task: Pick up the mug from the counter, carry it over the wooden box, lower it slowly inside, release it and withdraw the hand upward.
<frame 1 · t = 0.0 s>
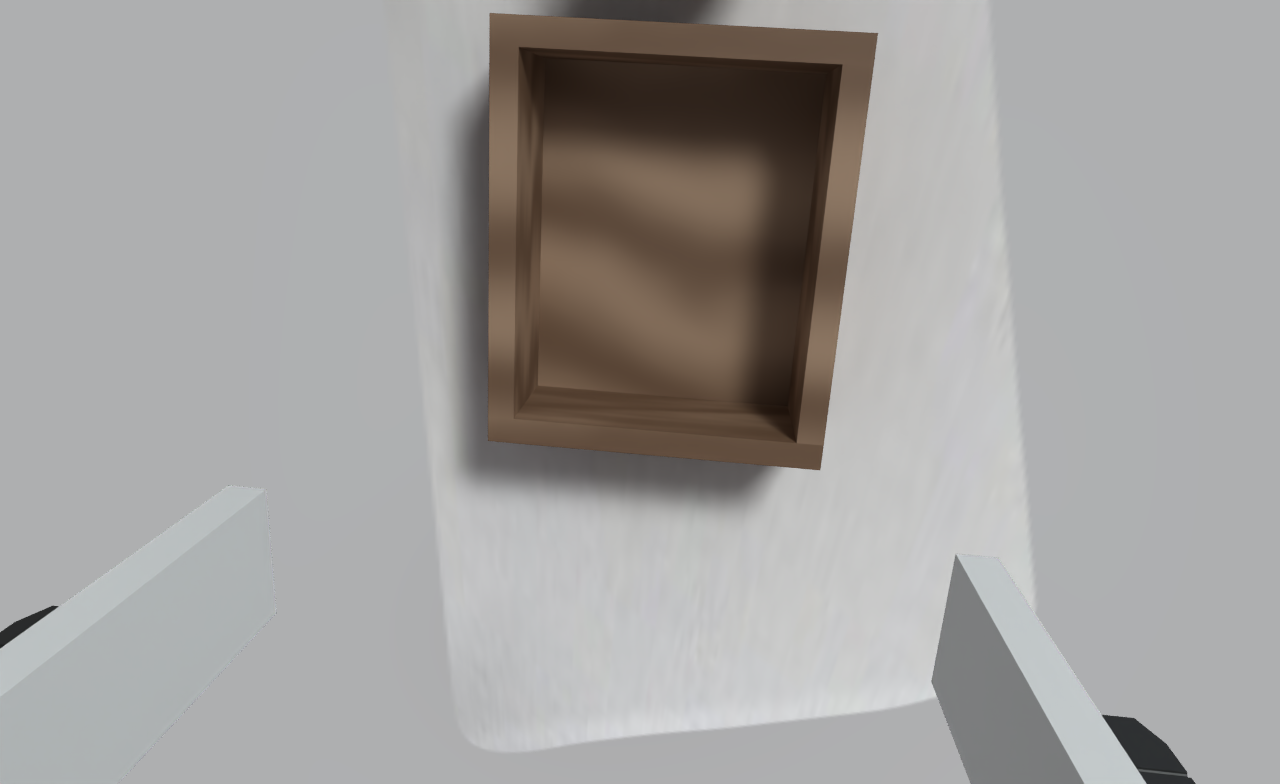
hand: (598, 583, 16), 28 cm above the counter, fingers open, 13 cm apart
wooden box: (672, 238, 42), on the counter
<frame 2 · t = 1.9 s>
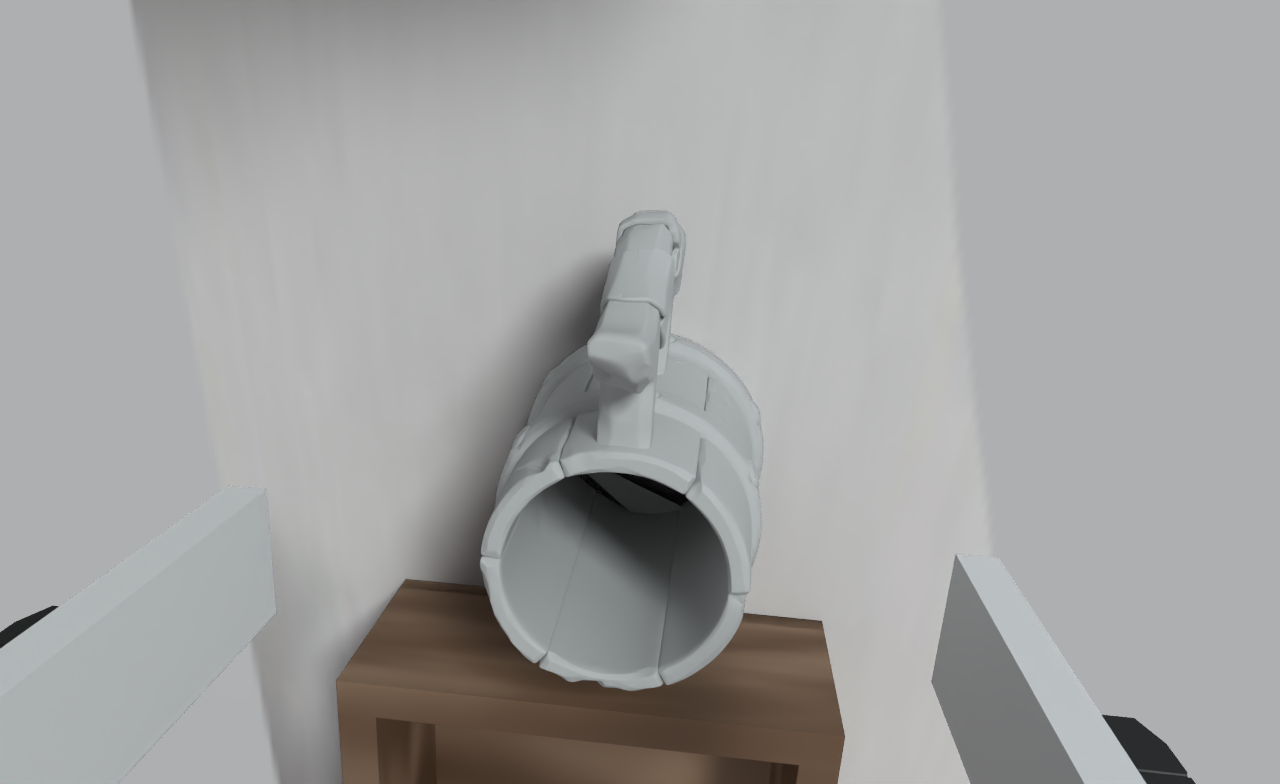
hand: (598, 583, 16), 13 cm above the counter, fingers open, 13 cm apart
mug: (652, 371, 28), on the counter
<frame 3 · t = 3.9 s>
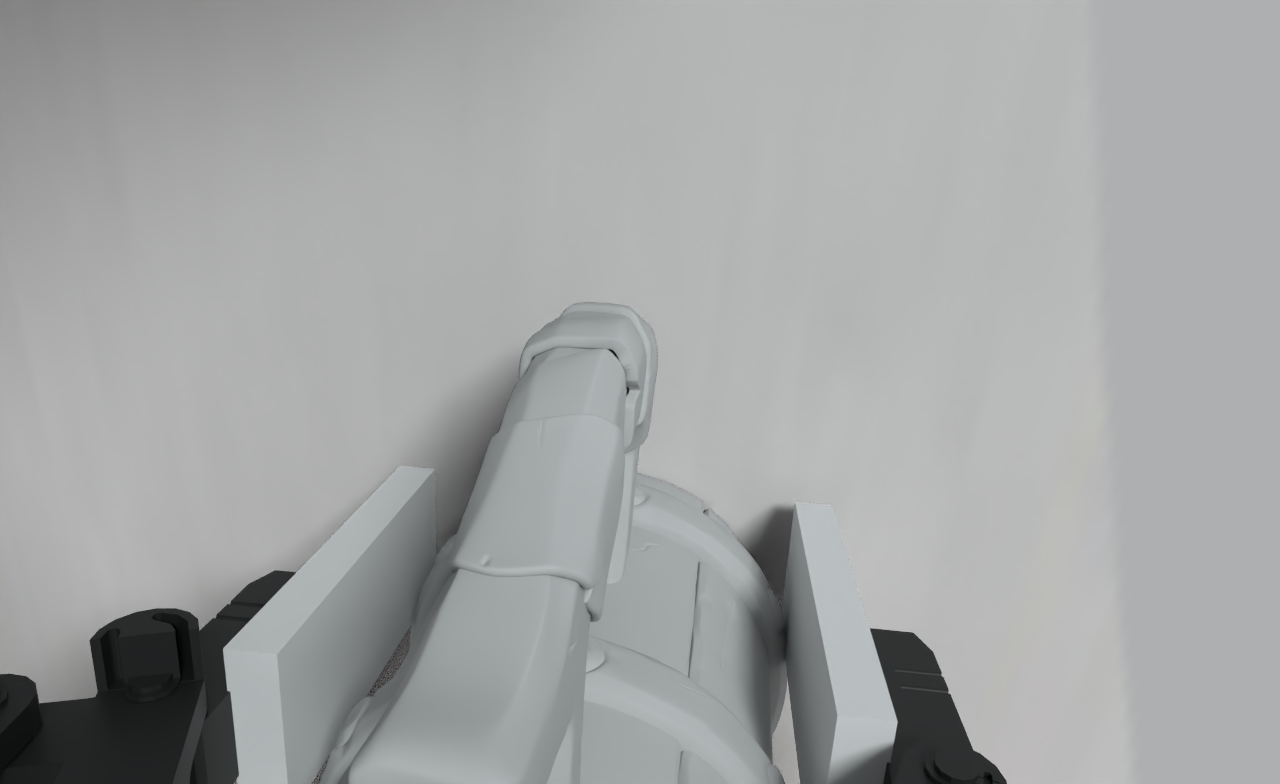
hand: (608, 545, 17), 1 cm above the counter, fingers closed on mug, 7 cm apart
mug: (614, 526, 18), on the counter, touching gripper
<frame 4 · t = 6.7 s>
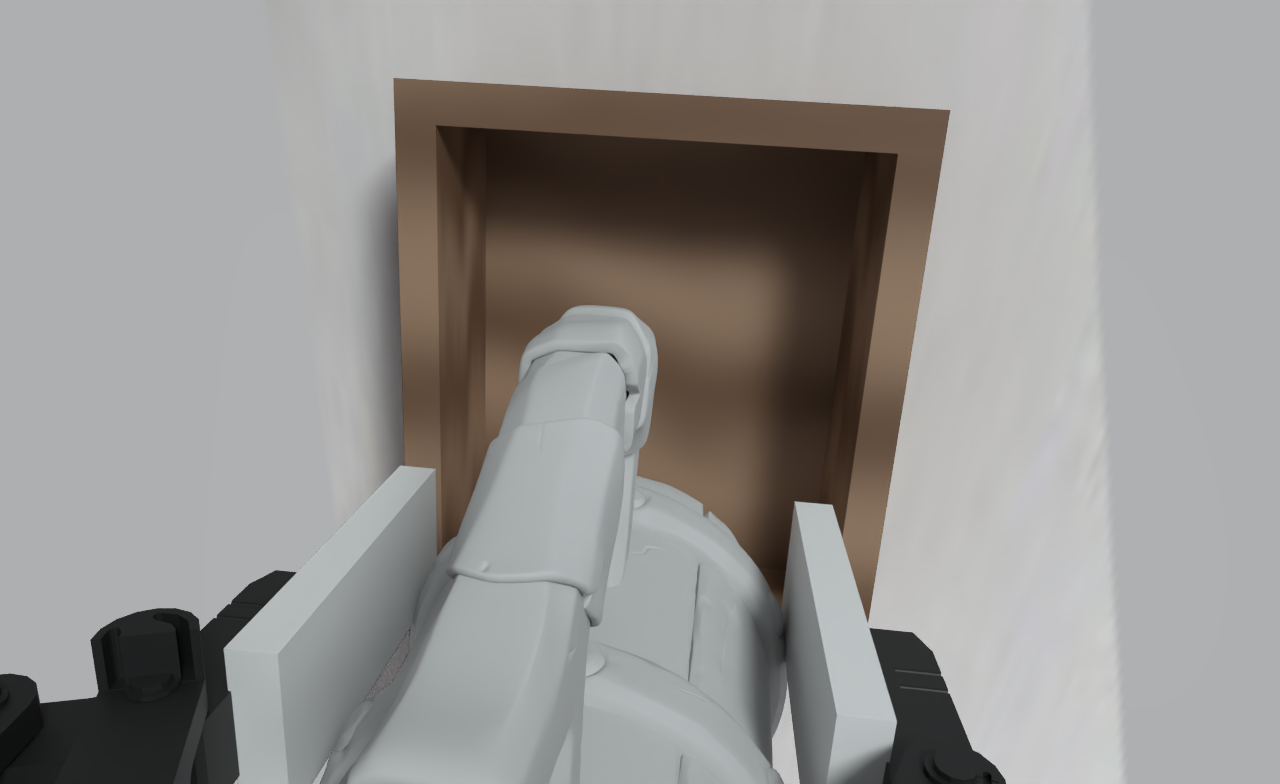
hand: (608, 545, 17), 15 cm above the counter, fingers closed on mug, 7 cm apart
mug: (614, 528, 18), point 14 cm above the counter, touching gripper
wooden box: (659, 359, 32), on the counter
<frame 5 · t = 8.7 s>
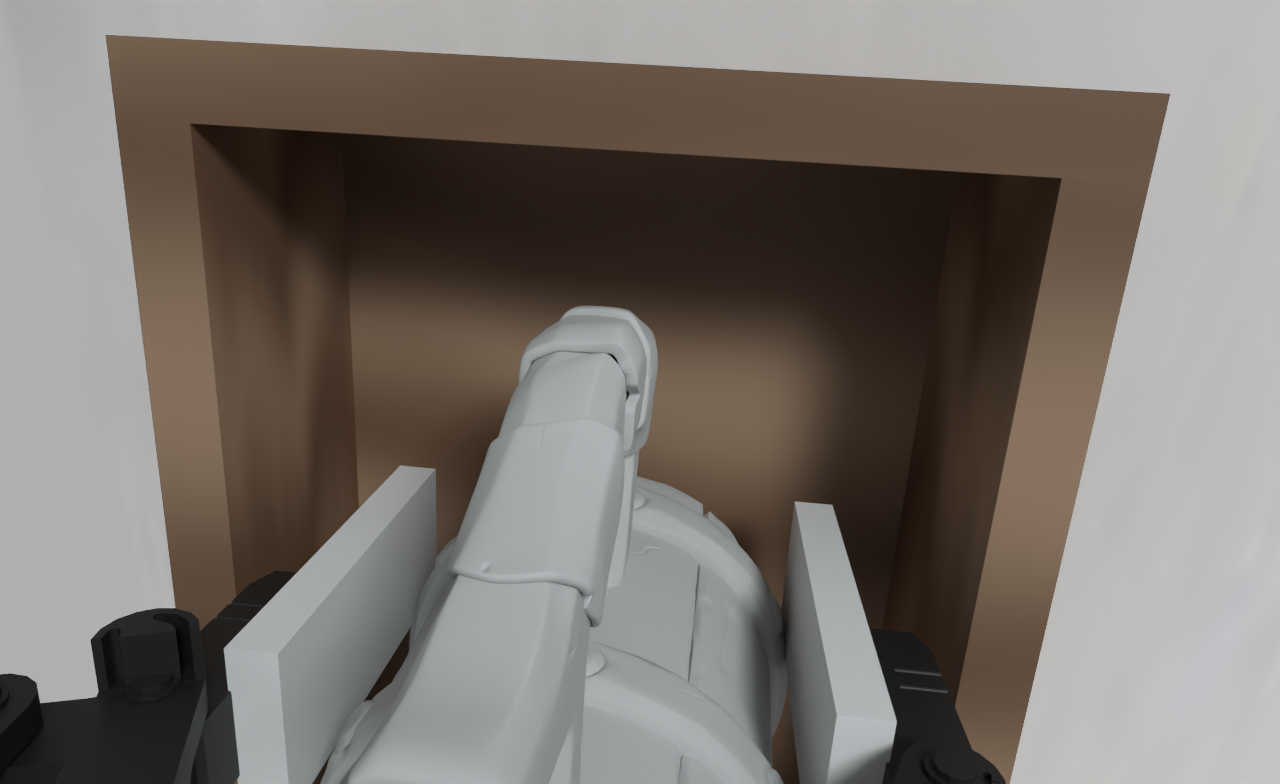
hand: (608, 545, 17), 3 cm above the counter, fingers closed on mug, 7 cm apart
mug: (614, 528, 18), point 2 cm above the counter, touching gripper
wooden box: (625, 485, 21), on the counter
when the fingers open (4 cm above the counter, at t = 10.4 s): mug stays where it is, resting on wooden box.
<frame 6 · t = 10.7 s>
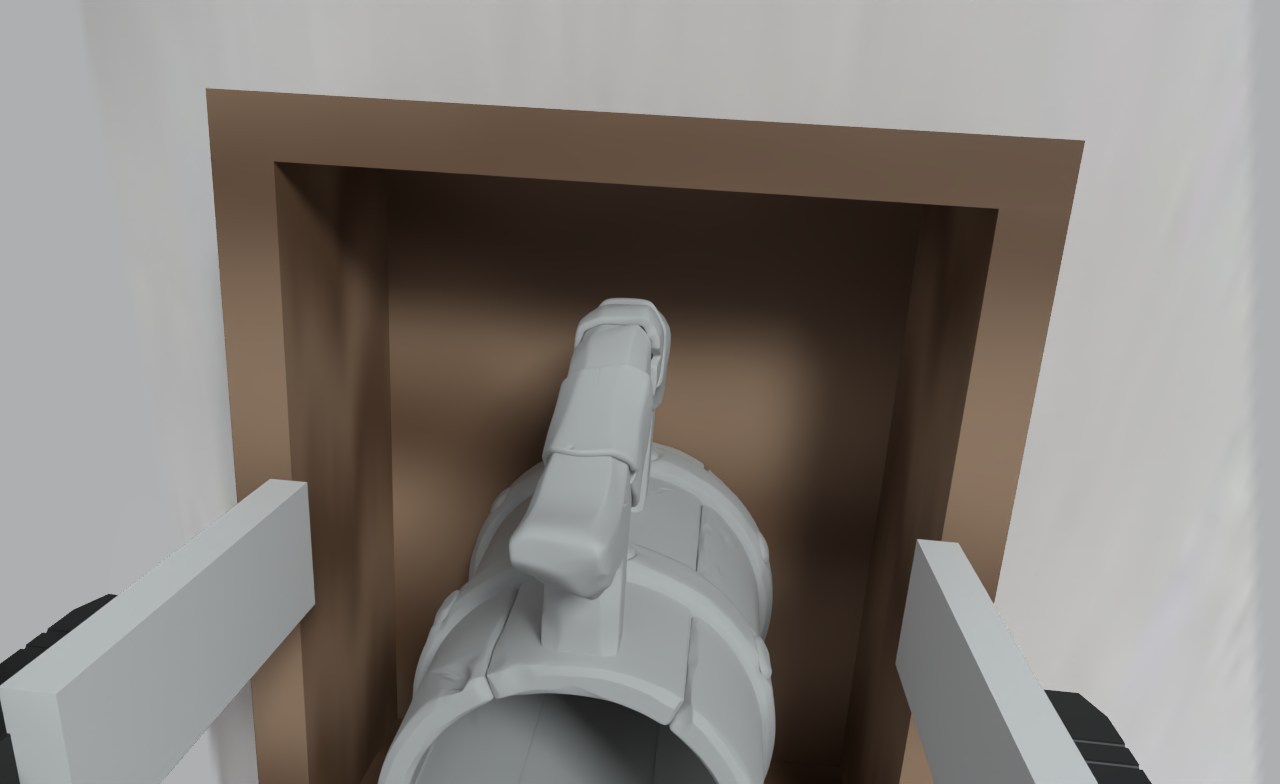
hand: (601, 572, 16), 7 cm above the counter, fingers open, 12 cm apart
mug: (631, 486, 22), resting on wooden box
wooden box: (632, 479, 23), on the counter
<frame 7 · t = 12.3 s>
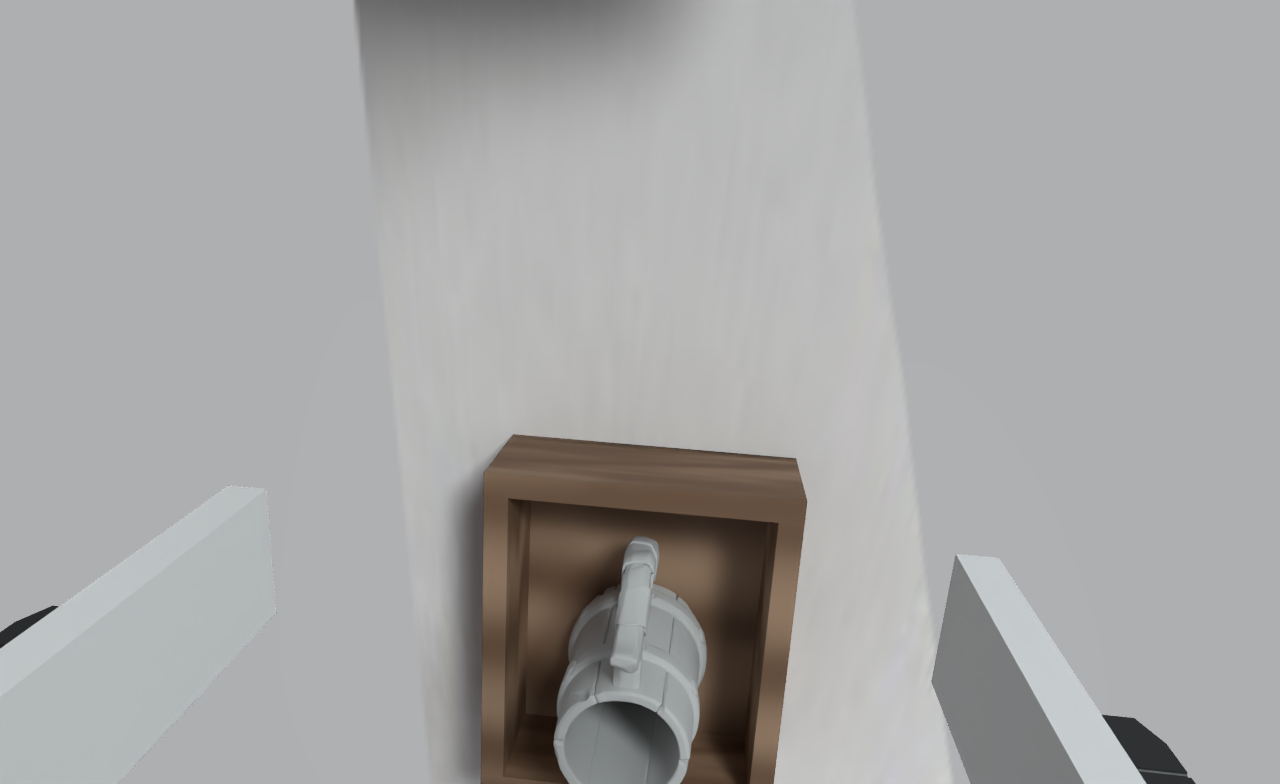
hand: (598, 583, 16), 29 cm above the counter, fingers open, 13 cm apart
mug: (642, 602, 48), resting on wooden box
wooden box: (642, 598, 48), on the counter
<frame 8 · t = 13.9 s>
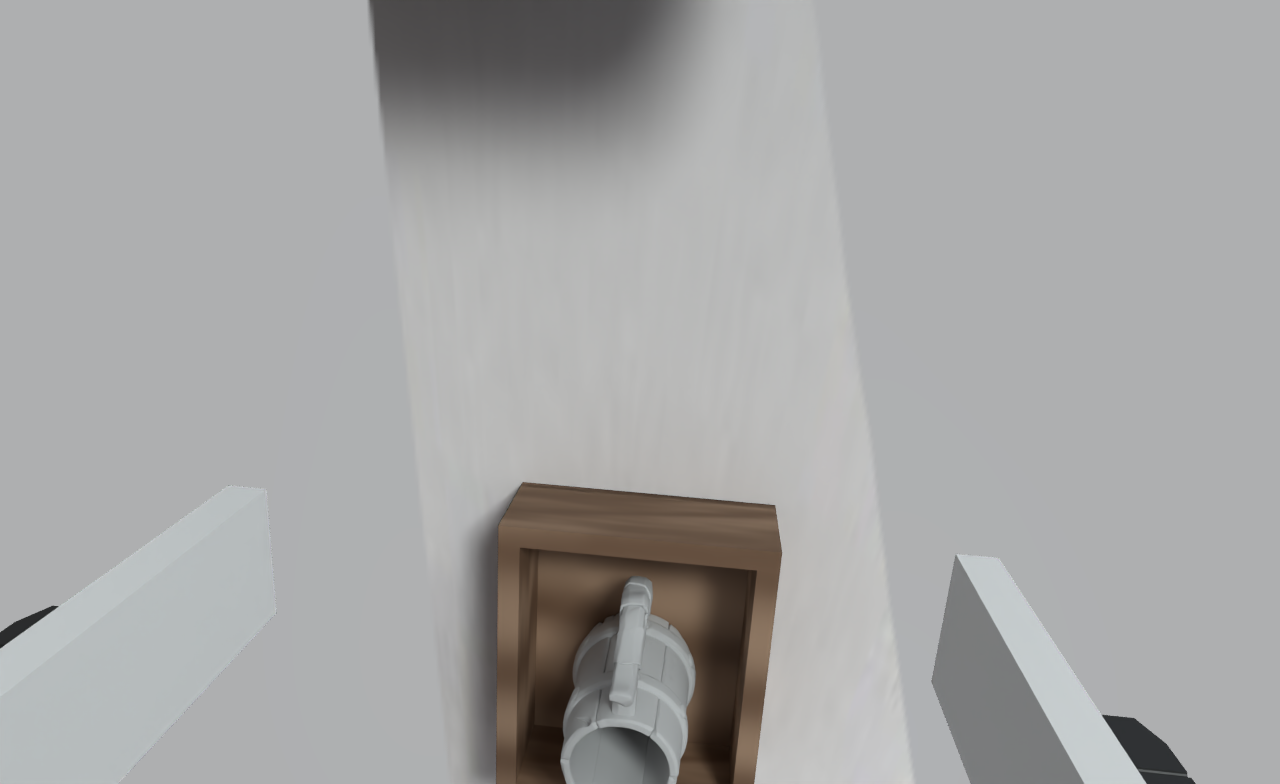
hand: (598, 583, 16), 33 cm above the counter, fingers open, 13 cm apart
mug: (638, 629, 53), resting on wooden box
wooden box: (638, 625, 54), on the counter
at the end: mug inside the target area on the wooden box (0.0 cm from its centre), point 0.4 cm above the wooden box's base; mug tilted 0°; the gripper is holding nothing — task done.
